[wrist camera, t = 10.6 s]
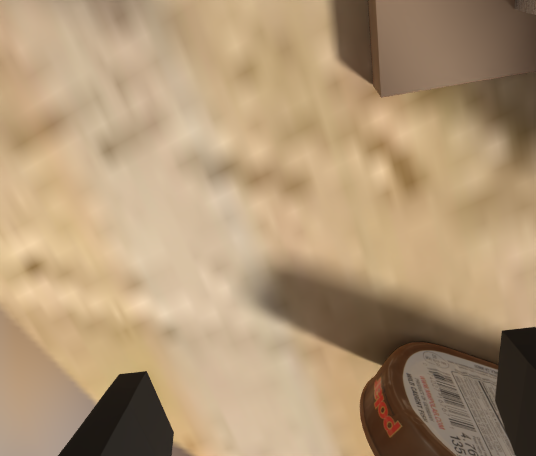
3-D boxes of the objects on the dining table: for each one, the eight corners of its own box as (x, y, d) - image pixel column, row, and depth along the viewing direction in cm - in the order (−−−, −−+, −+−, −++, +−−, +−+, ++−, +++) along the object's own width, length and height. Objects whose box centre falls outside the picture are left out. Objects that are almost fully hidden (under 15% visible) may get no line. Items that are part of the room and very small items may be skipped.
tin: (345, 354, 24) (374, 532, 17) (376, 310, 22) (423, 485, 15) (584, 430, 27) (696, 611, 20) (625, 396, 25) (765, 578, 18)
